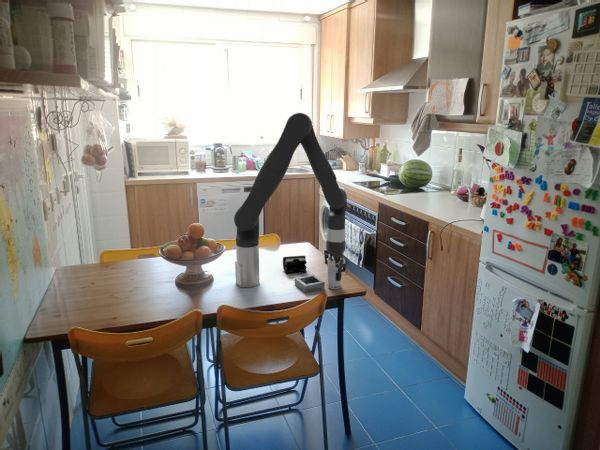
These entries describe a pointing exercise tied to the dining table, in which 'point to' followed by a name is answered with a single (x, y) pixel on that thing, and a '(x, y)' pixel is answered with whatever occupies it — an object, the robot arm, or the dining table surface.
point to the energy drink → (333, 276)
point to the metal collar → (306, 287)
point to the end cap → (294, 264)
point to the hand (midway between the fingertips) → (334, 277)
